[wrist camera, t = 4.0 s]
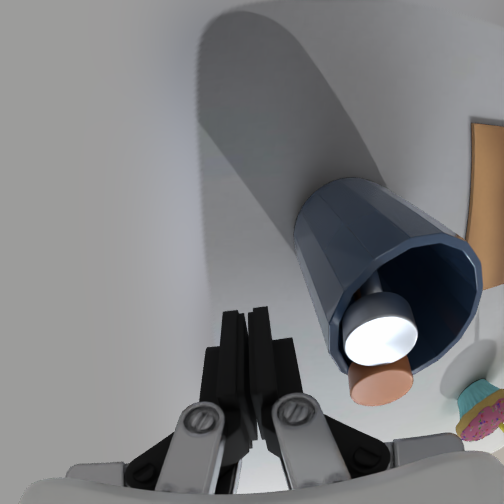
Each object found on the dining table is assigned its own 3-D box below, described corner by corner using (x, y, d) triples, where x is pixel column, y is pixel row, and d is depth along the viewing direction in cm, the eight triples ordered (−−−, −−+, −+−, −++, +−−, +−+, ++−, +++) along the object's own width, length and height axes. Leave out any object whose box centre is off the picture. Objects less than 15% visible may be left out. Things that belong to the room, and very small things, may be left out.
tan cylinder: (331, 276, 19) (347, 409, 11) (331, 240, 18) (353, 373, 10) (370, 273, 19) (405, 402, 10) (372, 238, 18) (420, 365, 9)
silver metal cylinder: (331, 235, 18) (341, 369, 10) (329, 195, 17) (345, 317, 9) (372, 233, 18) (409, 364, 9) (373, 194, 16) (425, 312, 8)
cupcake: (496, 357, 26) (542, 425, 15) (494, 387, 29) (529, 446, 18) (442, 397, 28) (479, 473, 17) (447, 420, 31) (475, 484, 20)
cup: (269, 244, 19) (288, 345, 11) (345, 152, 16) (430, 191, 8) (348, 299, 21) (394, 397, 13) (417, 224, 18) (500, 294, 10)
